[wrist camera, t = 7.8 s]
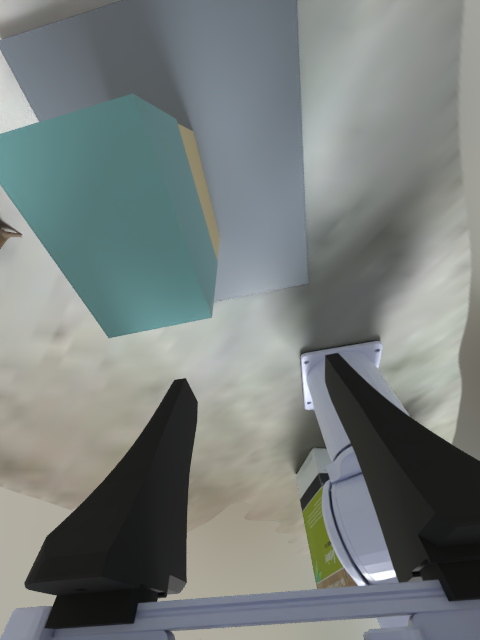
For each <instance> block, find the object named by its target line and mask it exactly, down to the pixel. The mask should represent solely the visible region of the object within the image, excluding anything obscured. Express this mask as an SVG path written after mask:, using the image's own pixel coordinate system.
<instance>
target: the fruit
mask: <svg viewBox="0 0 480 640" xmlns="http://www.w3.org/2000/svg"><path fill="white" fill-rule="evenodd" d="M21 235H22V234H21V233H11V232H6V231H4V230H2V229H1V228H0V249H1V247H2V246H3V244H4V243H5V242H6V240H7V239H8V238H10V237H22V236H21Z"/></svg>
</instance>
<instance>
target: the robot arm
mask: <svg viewBox="0 0 480 640" xmlns="http://www.w3.org/2000/svg"><path fill="white" fill-rule="evenodd" d="M382 348H383V344H382V343H381V342H380V341H373V342H368V343H362V344H356V345H350V346H344V347H338V348H332V349H326V350H320V351H314V352H308V353H304V354H302V355H301V370H302V382H303V395H304V407H305V409H306V410H313V409H314V411H315V414H316V417H317V420H318V423H319V427H320V430H321V433H322V436H323V439H324V442H325V445H326V448H327V451H328V454H329V457H330V459H331V461H332V462H333V463H331V464H329V465H327V466H326V468H327V471H328V475H329V478H330V480H328V481H327V482H326V483H325V484H324V487H323V493H322V513H323V518H324V523H325V527H326V530H327V533H328V536H329V539H330V542H331V544H332V547H333V549H334V551H335V553H336V555H337V557H338V559H339V560H340V562H341V564H342V565H343V567H344V568H345V570H346V571H347V572H348V573H349V575H350V576H351V577H352V578H353V580H354V581H355V582H356V584H357V585H358V586H352V587H339V588H326V589H313V590H301V591H288V592H275V593H263V594H250V595H237V596H224V597H212V598H198V599H187V600H174V601H160V602H157V599H158V598H166V596H167V594H178V593H180V592H181V591H182V589H183V588H184V586H185V585H186V583H187V581H186V580H187V579H186V538H187V505H188V486H189V472H190V464H191V458H192V451H193V445H194V438H195V432H196V425H197V405H198V402H197V400H196V398H195V396H194V394H193V392H192V390H191V388H190V386H189V384H188V382H187V380H186V378H184V379H178V380H174V382H173V383H172V385H171V387H170V388H169V390H168V392H167V393H166V395H165V397H164V398H163V400H162V402H161V403H160V405H159V407H158V408H157V410H156V412H155V413H154V415H153V416H152V418H151V420H150V421H149V423H148V424H147V426H146V427H145V429H144V430H143V431H142V433H141V434H140V436H139V437H138V439H137V440H136V441H135V443H134V444H133V446H132V447H131V448H130V449H129V451H128V452H127V453H126V455H125V456H124V457H123V458H122V460H121V461H120V462H119V463H118V464H117V466H116V467H115V468H114V469H113V470H112V471H111V473H110V474H109V475H108V476H107V477H106V478H105V480H104V481H103V482H102V483H101V484H100V485H99V486H98V487H97V488H96V489H95V490H94V491H93V492H92V493H91V494H90V496H89V497H88V498H87V499H86V500H85V501H84V502H83V503H82V504H81V505H80V506H79V507H78V508H77V509H76V510H75V511H74V512H73V513H71V514H70V515H69V516H68V517H67V518H66V519H65V520H64V521H63V522H62V523H61V524H60V525H59V526H58V527H57V528H55V530H53V531H52V532H51V533H50V534H49V535H48V536H47V537H46V539H45V541H44V543H43V545H42V547H41V550H40V552H39V554H38V556H37V558H36V560H35V562H34V564H33V566H32V568H31V570H30V573H29V575H28V577H27V579H26V581H25V587H26V588H27V589H29V590H33V591H37V592H42V593H47V594H52V595H57V597H56V599H55V602H54V604H53V607H52V606H40V607H28V608H17V609H15V610H14V611H13V613H12V615H11V617H10V619H9V621H8V623H7V626H6V628H5V630H4V632H3V634H2V636H1V638H0V640H175V637H174V634H173V633H172V632H171V631H180V630H195V629H210V628H225V627H241V626H255V625H271V624H285V623H301V622H316V621H331V620H346V619H362V618H377V620H378V622H379V624H380V626H381V628H380V629H370V630H369V631H368V632H365V633H364V635H363V636H364V640H480V461H478V460H477V459H475V458H473V457H472V456H470V455H468V454H466V453H464V452H463V451H461V450H460V449H458V448H456V447H455V446H453V445H452V444H450V443H449V442H447V441H445V440H444V439H442V438H441V437H439V436H438V435H436V434H434V433H433V432H431V431H430V430H428V429H427V428H425V427H424V426H422V425H421V424H419V423H418V422H417V421H415V420H414V419H412V418H411V417H410V415H409V414H408V413H407V411H406V410H405V408H404V407H403V405H402V404H401V402H400V401H399V399H398V398H397V396H396V395H395V393H394V392H393V390H392V389H391V387H390V386H389V384H388V383H387V381H386V380H385V379H384V377H383V376H382V374H381V373H380V371H379V370H378V368H379V363H380V358H381V353H382Z"/></svg>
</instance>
